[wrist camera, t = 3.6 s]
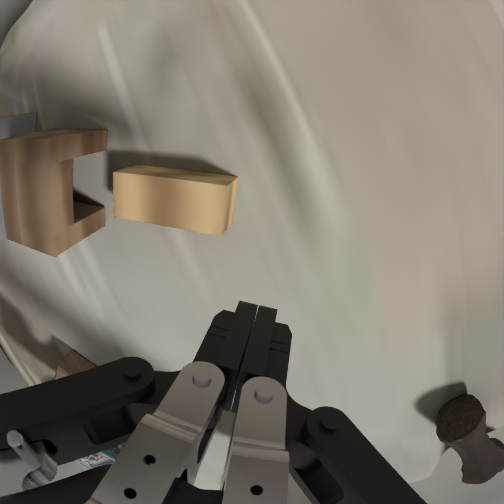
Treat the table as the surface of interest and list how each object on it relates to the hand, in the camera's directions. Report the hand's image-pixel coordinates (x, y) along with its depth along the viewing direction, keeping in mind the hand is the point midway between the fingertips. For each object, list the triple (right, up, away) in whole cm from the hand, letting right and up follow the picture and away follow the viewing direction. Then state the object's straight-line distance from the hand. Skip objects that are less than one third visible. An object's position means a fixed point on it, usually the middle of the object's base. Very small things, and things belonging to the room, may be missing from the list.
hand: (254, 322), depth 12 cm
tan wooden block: (-6, +8, +15) cm, 18 cm away
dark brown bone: (+37, -28, +23) cm, 52 cm away
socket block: (-19, +11, +16) cm, 27 cm away
